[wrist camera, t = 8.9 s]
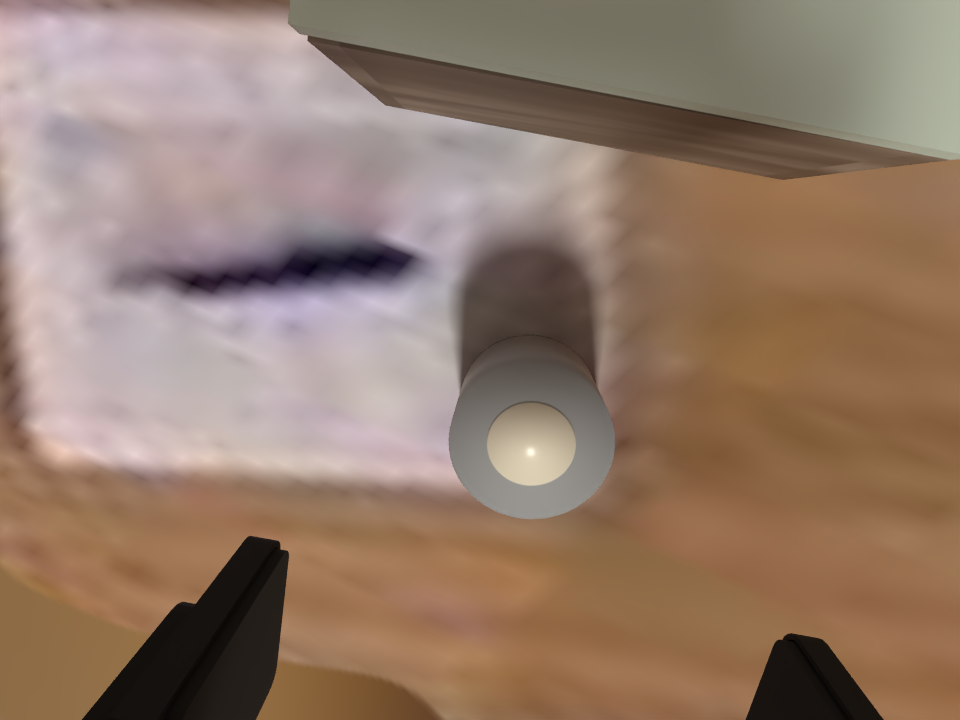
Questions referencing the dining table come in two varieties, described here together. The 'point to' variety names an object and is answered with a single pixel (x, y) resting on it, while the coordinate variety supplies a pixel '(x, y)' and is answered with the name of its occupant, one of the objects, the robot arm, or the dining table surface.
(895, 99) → the box lid
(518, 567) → the dining table surface
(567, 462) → the grey cylinder with dome
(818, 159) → the storage box
